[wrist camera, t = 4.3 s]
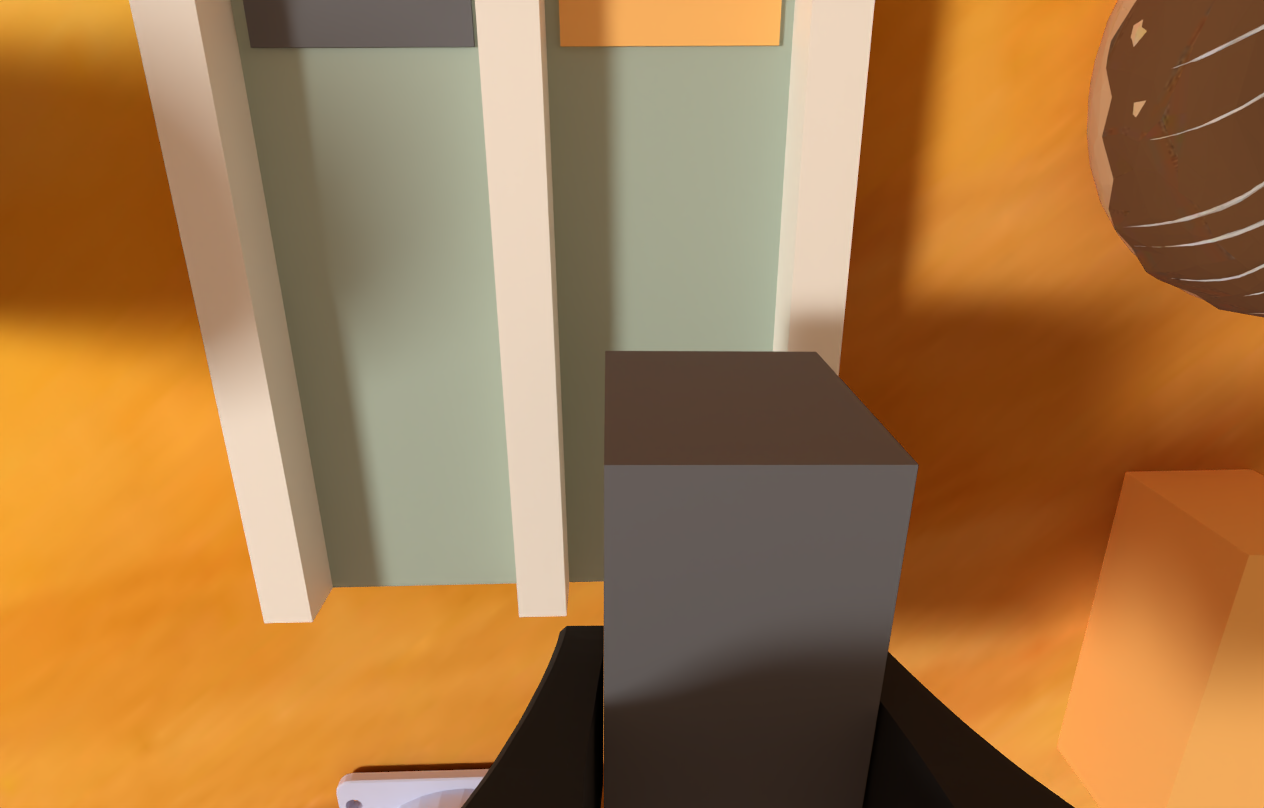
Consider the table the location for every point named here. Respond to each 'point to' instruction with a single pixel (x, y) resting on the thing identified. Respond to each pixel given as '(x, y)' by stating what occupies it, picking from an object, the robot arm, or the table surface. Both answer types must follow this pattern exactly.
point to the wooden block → (1175, 648)
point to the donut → (1185, 143)
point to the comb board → (486, 253)
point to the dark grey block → (745, 579)
